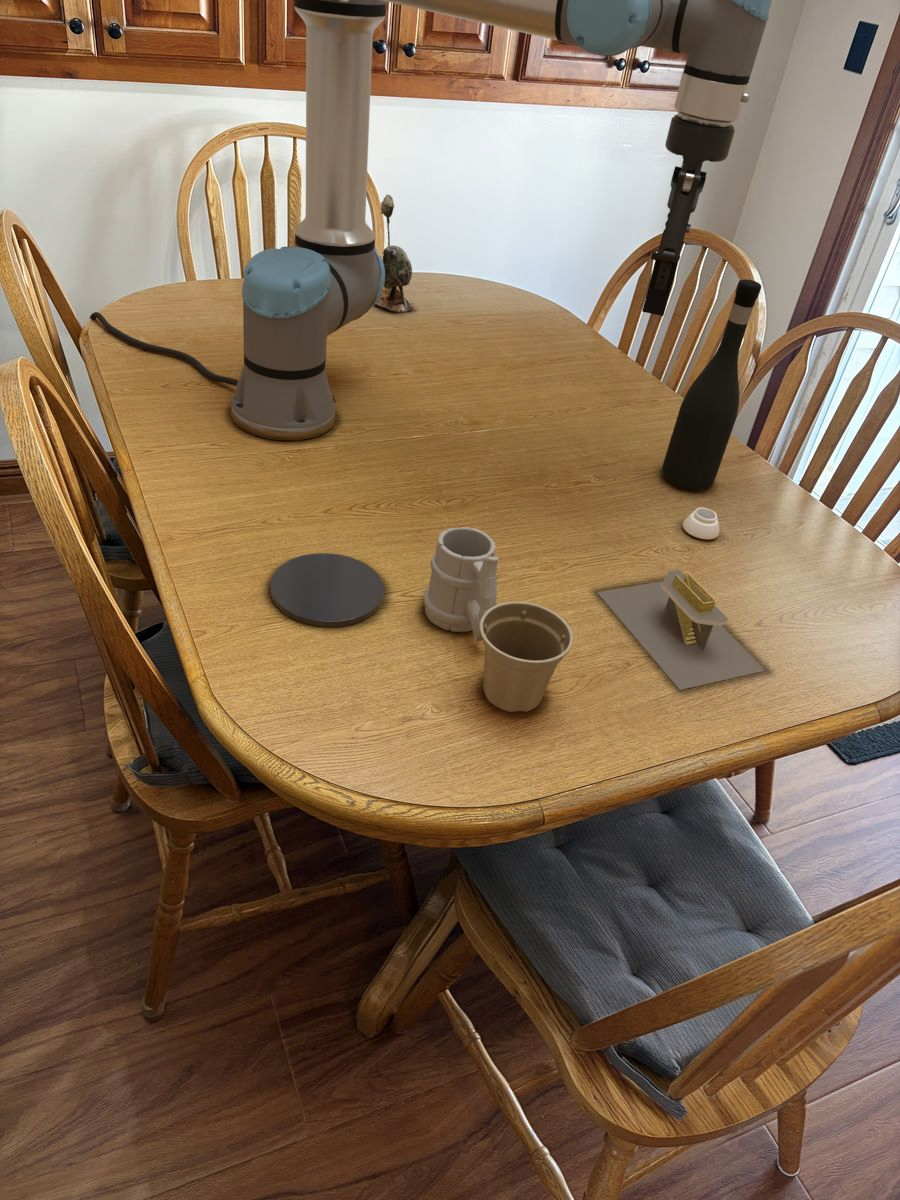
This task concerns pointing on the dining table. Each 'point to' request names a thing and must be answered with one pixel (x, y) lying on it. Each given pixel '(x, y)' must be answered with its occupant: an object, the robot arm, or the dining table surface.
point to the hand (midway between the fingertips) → (656, 296)
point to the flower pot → (521, 653)
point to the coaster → (326, 590)
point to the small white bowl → (702, 524)
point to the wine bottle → (710, 405)
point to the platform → (681, 630)
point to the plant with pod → (394, 269)
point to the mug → (462, 580)
